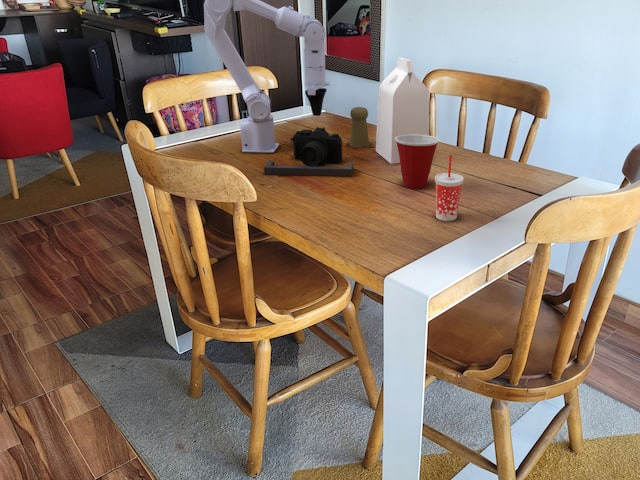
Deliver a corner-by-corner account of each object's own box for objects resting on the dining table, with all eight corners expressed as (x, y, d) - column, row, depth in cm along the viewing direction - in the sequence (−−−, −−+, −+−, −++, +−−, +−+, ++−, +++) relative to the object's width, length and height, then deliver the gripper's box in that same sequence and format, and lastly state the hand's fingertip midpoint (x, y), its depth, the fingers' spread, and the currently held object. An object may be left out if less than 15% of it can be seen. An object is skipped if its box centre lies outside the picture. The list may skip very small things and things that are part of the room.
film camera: (282, 165, 156) (280, 133, 151) (297, 154, 164) (295, 123, 159) (334, 171, 151) (333, 138, 147) (346, 160, 159) (346, 128, 155)
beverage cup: (464, 220, 123) (470, 158, 117) (437, 223, 122) (441, 160, 115) (454, 209, 129) (459, 149, 122) (428, 212, 128) (432, 151, 121)
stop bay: (264, 174, 150) (263, 167, 149) (269, 167, 155) (268, 160, 154) (351, 176, 148) (351, 169, 147) (353, 169, 153) (353, 162, 152)
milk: (429, 159, 160) (434, 61, 147) (391, 163, 156) (392, 64, 144) (411, 146, 169) (415, 54, 157) (375, 151, 166) (376, 57, 153)
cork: (369, 147, 169) (369, 110, 164) (349, 147, 169) (348, 110, 164) (369, 141, 174) (369, 105, 169) (349, 141, 174) (349, 105, 169)
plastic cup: (441, 179, 145) (444, 133, 140) (431, 194, 137) (434, 145, 131) (400, 175, 149) (401, 129, 143) (388, 189, 140) (389, 141, 134)
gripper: (325, 71, 153) (326, 122, 160) (332, 62, 165) (334, 109, 172) (299, 71, 154) (301, 121, 160) (308, 61, 166) (311, 108, 173)
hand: (317, 115), depth 166 cm, fingers closed
